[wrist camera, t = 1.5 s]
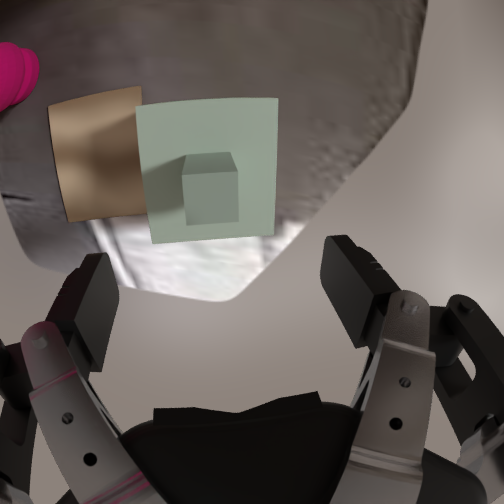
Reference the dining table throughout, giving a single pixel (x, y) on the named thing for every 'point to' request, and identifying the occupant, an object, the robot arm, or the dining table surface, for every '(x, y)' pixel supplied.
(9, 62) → the pepper mill
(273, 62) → the dining table surface
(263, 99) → the lid
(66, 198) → the cork mat
